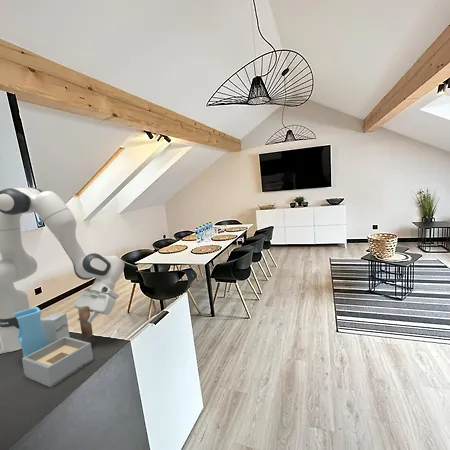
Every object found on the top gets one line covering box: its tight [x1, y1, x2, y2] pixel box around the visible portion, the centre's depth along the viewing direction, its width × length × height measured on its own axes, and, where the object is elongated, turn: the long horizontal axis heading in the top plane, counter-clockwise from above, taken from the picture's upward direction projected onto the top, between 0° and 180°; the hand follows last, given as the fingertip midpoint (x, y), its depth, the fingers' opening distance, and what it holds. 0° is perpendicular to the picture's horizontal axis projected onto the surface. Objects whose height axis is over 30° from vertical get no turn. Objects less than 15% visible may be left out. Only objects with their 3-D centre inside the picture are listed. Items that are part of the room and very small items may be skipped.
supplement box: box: [40, 312, 71, 346], centre depth 121 cm, size 7×7×13 cm
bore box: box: [21, 336, 94, 389], centre depth 102 cm, size 16×16×7 cm
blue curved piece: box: [14, 306, 46, 358], centre depth 109 cm, size 8×8×20 cm
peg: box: [77, 306, 94, 339], centre depth 114 cm, size 4×4×12 cm
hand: (84, 321), depth 114 cm, fingers closed on peg, 4 cm apart
